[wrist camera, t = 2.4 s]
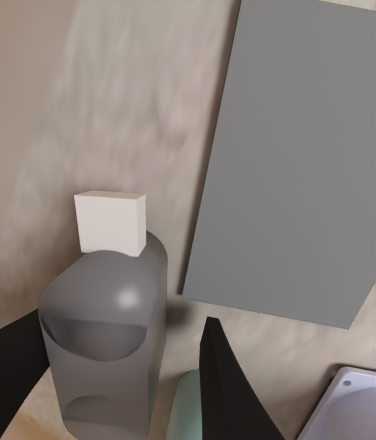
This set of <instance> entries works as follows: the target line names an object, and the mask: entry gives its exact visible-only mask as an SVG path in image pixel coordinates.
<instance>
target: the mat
mask: <svg viewBox="0 0 376 440" xmlns="http://www.w3.org/2000/svg"><path fill="white" fill-rule="evenodd" d="M375 282H376V11H373V10H368V9H363V8H357V7H352V6H346V5H341V4H335V3H330V2H324V1H319V0H241V5H240V10H239V15H238V20H237V25H236V29H235V34H234V39H233V44H232V49H231V54H230V59H229V64H228V69H227V74H226V79H225V84H224V89H223V94H222V99H221V104H220V109H219V114H218V119H217V124H216V129H215V134H214V139H213V144H212V149H211V154H210V159H209V163H208V168H207V173H206V178H205V183H204V188H203V193H202V198H201V203H200V208H199V213H198V218H197V223H196V228H195V233H194V238H193V243H192V248H191V253H190V258H189V263H188V268H187V273H186V278H185V283H184V288H183V293H182V298H184V299H189V300H194V301H200V302H205V303H210V304H216V305H221V306H226V307H231V308H237V309H242V310H247V311H253V312H258V313H263V314H269V315H274V316H279V317H285V318H290V319H295V320H301V321H306V322H311V323H317V324H322V325H327V326H333V327H338V328H343V329H349V328H350V326H351V324H352V322H353V321H354V319H355V317H356V315H357V314H358V312H359V310H360V308H361V307H362V305H363V303H364V301H365V300H366V298H367V296H368V294H369V293H370V291H371V289H372V287H373V286H374V284H375Z"/></svg>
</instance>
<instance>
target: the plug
mask: <svg viewBox="0 0 376 440" xmlns="http://www.w3.org/2000/svg"><path fill="white" fill-rule="evenodd" d="M74 199H75V206H76V214H77V222H78V230H79V238H80V245H81V252H84V253H86V254H84V255H83V256H82V257H81V258H79V259H78V260H77V261H76V262H75V263H73V264H72V265H71V266H70V267H68V268H67V269H66V270H65V271H63V272H62V273H61V274H60V275H59V276H57V277H56V278H55V279H54V280H52V281H51V282H50V283H49V284H48V285H47V286H46V287H45V288H44V289H43V291H42V293H41V294H40V297H39V301H38V315H39V320H40V324H41V329H42V333H43V337H44V342H45V346H46V350H47V355H48V359H49V363H50V367H51V372H52V376H53V380H54V385H55V389H56V393H57V398H58V402H59V406H60V411H61V415H62V419H63V423H64V425H65V427H66V428H67V430H68V431H69V432H70V433H71V434H72V435H73V436H74V437H76V438H77V439H78V440H145V439H146V438H147V435H148V432H149V426H150V421H151V416H152V411H153V405H154V400H155V395H156V389H157V384H158V379H159V374H160V368H161V363H162V358H163V352H164V347H165V341H166V307H167V269H168V258H167V253H166V250H165V248H164V246H163V244H162V243H161V242H160V240H159V239H158V238H157V237H156V236H154V235H153V234H152V233H150V232H148V231H146V195H145V194H138V193H123V192H108V191H93V190H91V191H87V192H84V193H80V194H76V195H74Z"/></svg>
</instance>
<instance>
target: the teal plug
mask: <svg viewBox="0 0 376 440" xmlns="http://www.w3.org/2000/svg"><path fill="white" fill-rule="evenodd" d="M166 440H202V413H201V393H200V372H199V369H198V370H193V371H190V372H188V373H186V374H184V375H183V376H182V377H181V378H180V380H179V382H178V385H177V389H176V394H175V398H174V402H173V406H172V411H171V415H170V419H169V423H168V428H167V432H166Z"/></svg>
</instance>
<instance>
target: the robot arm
mask: <svg viewBox="0 0 376 440" xmlns="http://www.w3.org/2000/svg"><path fill="white" fill-rule="evenodd" d="M49 366H50V363H49V359H48V355H47V350H46V346H45V342H44V337H43V333H42V329H41V324H40V320H39V315H38V309H36V310H34V311H33V312H31V313H29V314H27V315H26V316H24V317H22V318H20V319H18V320H16V321H14V322H12V323H11V324H9V325H7V326H5V327H3V328H1V329H0V438H1V436H2V435H3V433H4V432H5V430H6V428H7V427H8V425H9V424H10V422H11V421H12V419H13V418H14V416H15V414H16V413H17V411H18V410H19V408H20V407H21V405H22V404H23V402H24V400H25V399H26V398H27V396H28V395H29V393H30V392H31V390H32V389H33V388H34V386H35V385H36V384H37V382H38V381H39V380H40V378H41V377H42V376H43V374H44V373H45V372H46V370H47V369H48V368H49ZM199 372H200V393H201V413H202V440H285V439H284V437H283V436H282V434H281V433H280V432H279V430H278V429H277V427H276V426H275V424H274V423H273V421H272V420H271V418H270V417H269V415H268V414H267V412H266V411H265V409H264V408H263V406H262V404H261V403H260V401H259V399H258V398H257V396H256V395H255V393H254V391H253V389H252V388H251V386H250V384H249V382H248V381H247V379H246V377H245V375H244V373H243V371H242V369H241V367H240V365H239V364H238V362H237V359H236V357H235V355H234V353H233V351H232V349H231V347H230V345H229V342H228V340H227V338H226V336H225V333H224V331H223V328H222V326H221V323H220V320H219V319H218V318H213V317H208V316H207V320H206V323H205V327H204V331H203V335H202V339H201V342H200V357H199ZM297 440H376V372H374V371H368V370H363V369H358V368H352V367H342V368H341V369H340V370H339V371H338V372H337V374H336V376H335V377H334V379H333V381H332V382H331V384H330V386H329V387H328V389H327V391H326V392H325V394H324V396H323V397H322V399H321V401H320V402H319V404H318V406H317V407H316V409H315V410H314V412H313V414H312V415H311V417H310V419H309V420H308V422H307V424H306V425H305V427H304V429H303V430H302V432H301V434H300V435H299V437H298V439H297Z"/></svg>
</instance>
